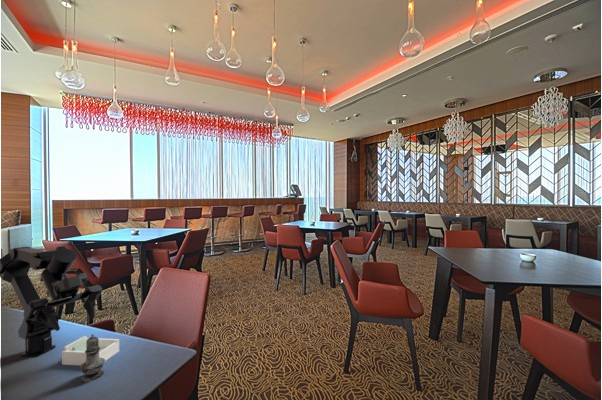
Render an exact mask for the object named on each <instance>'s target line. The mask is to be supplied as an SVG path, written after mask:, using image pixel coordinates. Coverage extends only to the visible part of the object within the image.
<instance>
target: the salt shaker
mask: <svg viewBox="0 0 602 400" xmlns="http://www.w3.org/2000/svg"><path fill="white" fill-rule="evenodd" d="M88 338H89V339H88V340H87V342H86V351H85V353H86V361H85V362H84V363H83V364H81V365H79V368H80V370H81V373H82V374H84V375H82V377H81V378H80V379H81V381H82V382H92V381H95V380H97V379H99V378H101V377H102V376H103V375H104V373H105V371H104V370H103V369H102V368H103V367H104V364H105V362H106V361H105V359H104V358H100V357H99V350H100V347H99V339H98V338H99V337H98V336H95V334H94V333H92V334H91V337H88Z"/></svg>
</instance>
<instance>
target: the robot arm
mask: <svg viewBox="0 0 602 400" xmlns="http://www.w3.org/2000/svg"><path fill="white" fill-rule="evenodd" d="M77 256H78V255H77V253H76V252H75V251H74V250H73V249H70V248H66V246H65V245H64V246H62V245H61V246H57V247H56V249H52V250H42V249H41V250H40V249H37V248H32V247H31V246H20V247H13V248H10V250H9V252H8V253H7V254H5V255H3V256H2V257H1V258H0V279H1V280H2V281H4V282H7V283H10V284H11V286H12V288H13V291H14V293H15V294H16V296H17V298H18V301H19V302H20V304H21V307H22V308H23V310H24V311H23V320H22V322H21V325H20V327H19V328H18V331H17V332H18V337H19V338H21V339H23V340H24V341H25V344H24V346H25V351H24V352H22V353H20V354H19V355H20V356H21V357H39V356H41V355H42V354H45V353H47V352H49V351H51V350H53V349H54V348H56V344H53V337H52V331H56V332H58V331H59V330H60V329H61V327H60V325H59V319H60V316H59V314H58V312H57V310H56V307H59V306H64V305H66V304H70V303H73V302H74V303H75V302H78V301H80V300H81V302H82V303H83V306H82V307H83V308H84V309H85V311H86V313H87V314H88V316H89V317H90V319H91V320H93V319H95V315H96V314H95V313H96V311H95V308H96V306H95V303H96V301H97V300H98V299H99V297H100V295H101V294H102V293H103V292H104V291H103V288H102V286H101V285H98V284H96V285H93V286H86V287H85V289H84V291H83V292H81V293H78V292H79V290H80V287H81V286H84V284H86V283H88V282H89V278H88V275H87V274H86V272H82V273H78V274H77V275H76V276H70V277H68V275H67V272H69V271H70V270H71V269H72V266H73V265H74V263H75V261H76V259H77ZM30 269H32V270H34V271H40V270H42V271H41V274H40V278H39V281H40V282H43V283H44V286H45V289H46V296H50V299H51V300H50V301H49V300H48V298H46V297H43V298H41V297H40V296H39V293H38V291H37V289H36V288H35V286H34V284H33V282H32V280H31V278H30V276H29V272H30Z"/></svg>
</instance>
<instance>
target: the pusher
mask: <svg viewBox="0 0 602 400" xmlns="http://www.w3.org/2000/svg"><path fill="white" fill-rule="evenodd" d="M87 338H88V339H89V338H90V337H87ZM88 339H86V340H84V341H82V342H81V343H79V344H77V345H75V346H74V347H72V351H86V342H87V340H88Z"/></svg>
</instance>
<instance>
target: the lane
mask: <svg viewBox="0 0 602 400" xmlns="http://www.w3.org/2000/svg"><path fill="white" fill-rule="evenodd" d="M88 338H89V337H87V335H83V336H82V337H80V338H78V339H77V340H75V341H72V342H70V343H69V344H67V345H65V346H63V347H64V348H63V350H62V351H61V365H65V366H81V364H83V363H84V362H85V361H86V353H85V351H72V347H74V346H75V345H77V344H79V343H81V342H82V341H84V340H86V339H88ZM98 339H99V347H100V350H99V357H100V358H104V359H105V362H106V361H107V360H109V359H111V358H112V357H113V356H115V355H116V354H118V353H119V352H120V339H119V338H100V337H98Z"/></svg>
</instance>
